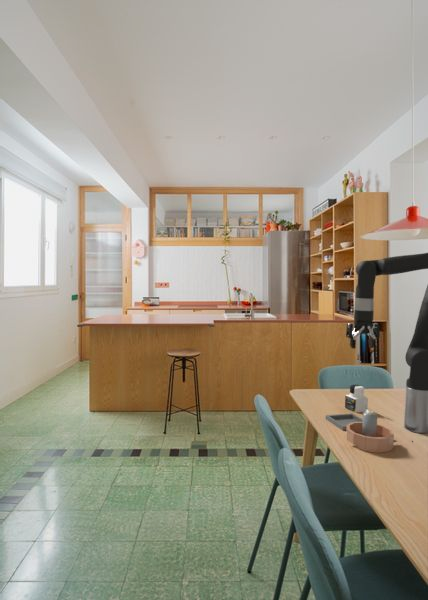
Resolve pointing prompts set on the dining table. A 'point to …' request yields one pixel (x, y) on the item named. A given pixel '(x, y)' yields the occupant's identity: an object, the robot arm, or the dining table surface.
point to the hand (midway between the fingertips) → (362, 348)
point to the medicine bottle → (356, 399)
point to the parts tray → (343, 420)
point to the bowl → (370, 438)
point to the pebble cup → (369, 423)
